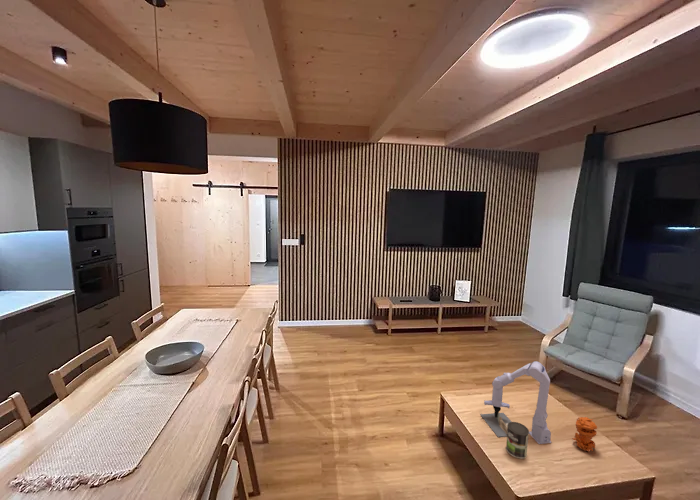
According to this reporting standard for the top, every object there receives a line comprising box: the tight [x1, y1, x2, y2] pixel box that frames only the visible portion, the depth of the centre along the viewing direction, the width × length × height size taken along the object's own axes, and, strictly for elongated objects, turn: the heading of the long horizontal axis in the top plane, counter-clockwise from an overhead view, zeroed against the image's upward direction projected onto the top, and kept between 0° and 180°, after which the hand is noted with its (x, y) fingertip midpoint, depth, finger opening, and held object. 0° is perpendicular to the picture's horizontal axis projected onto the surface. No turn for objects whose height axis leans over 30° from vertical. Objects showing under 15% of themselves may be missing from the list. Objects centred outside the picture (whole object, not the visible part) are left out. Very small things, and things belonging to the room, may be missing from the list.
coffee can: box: [505, 421, 530, 460], centre depth 168 cm, size 10×10×14 cm
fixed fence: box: [499, 417, 508, 433], centre depth 184 cm, size 10×2×5 cm, turn 6°
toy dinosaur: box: [572, 416, 598, 452], centre depth 170 cm, size 11×11×18 cm
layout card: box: [480, 412, 513, 438], centre depth 190 cm, size 20×16×1 cm
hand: (495, 416), depth 194 cm, fingers closed
